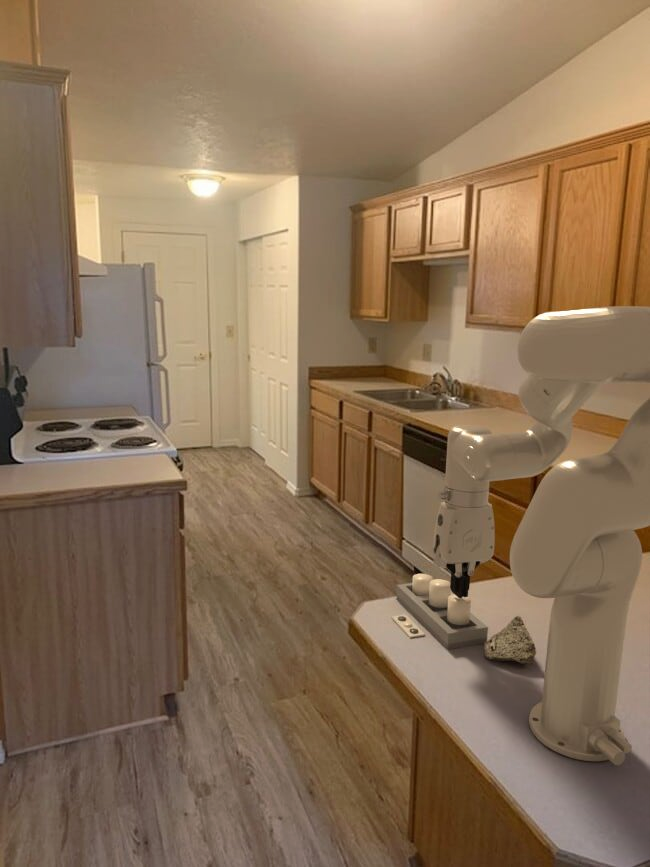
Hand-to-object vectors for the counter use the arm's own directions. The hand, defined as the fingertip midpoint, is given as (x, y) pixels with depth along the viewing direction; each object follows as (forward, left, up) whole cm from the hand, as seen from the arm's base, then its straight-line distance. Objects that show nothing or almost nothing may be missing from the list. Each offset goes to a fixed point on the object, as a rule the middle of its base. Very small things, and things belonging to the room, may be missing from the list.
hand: (459, 594), depth 116 cm
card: (+6, +7, -8) cm, 12 cm away
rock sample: (-9, -5, -9) cm, 13 cm away
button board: (+7, 0, -8) cm, 11 cm away
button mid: (+7, 0, -5) cm, 8 cm away
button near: (0, 0, -5) cm, 5 cm away
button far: (+14, 0, -7) cm, 15 cm away
